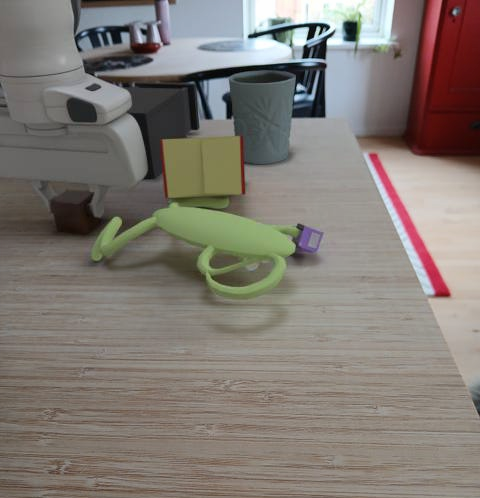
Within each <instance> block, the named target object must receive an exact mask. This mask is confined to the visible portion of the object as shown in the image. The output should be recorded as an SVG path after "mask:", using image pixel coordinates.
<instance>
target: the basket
mask: <svg viewBox="0 0 480 498" xmlns="http://www.w3.org/2000/svg"><path fill="white" fill-rule="evenodd" d="M133 85H134V86H133V87H132V88H166V89H182V94H183V104H184V114H185V125H186V135H187V136H188V134H189V133H191V131H199V129H200V118H199V117H200V116H199V115H200V114H199V103H198V92H197V91H198V90H197V83H196V82H164V81H163V82H162V81H136V82H134V83H133Z"/></svg>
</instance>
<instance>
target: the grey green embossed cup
mask: <svg viewBox="0 0 480 498" xmlns="http://www.w3.org/2000/svg"><path fill="white" fill-rule="evenodd" d="M296 79H297V77H296V74H295V73H291V72H288V71H282V70H281V71H280V70H265V69H264V70H250V71H243V72H238V73H234V74H231V75H230V76H229V77H228V85H229V92H230V94H229V95H230V101H231V103H232V104H231V110H232V111H231V112H232V120H233V128H234V129H233V132H234V136H243V145H244V163H246V164H252V165H269V164H270V165H271V164H277V163H279V162H282V161H284V160H286V159H287V158H288V156H289V152H290V137H291V129H292V119H293V117H292V116H293V103H294V97H295V87H296Z"/></svg>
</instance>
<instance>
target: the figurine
mask: <svg viewBox="0 0 480 498" xmlns="http://www.w3.org/2000/svg"><path fill="white" fill-rule="evenodd" d="M229 205H230V199H229V197H228V195H223V196H202V197H180V198H171V199H169V200H168V202H167V207H165V208H163V207H162V208H160V209H157V210H156V211H154V212H153V213H152V215H151V217H148V218H146V219H144V220H142V221H140V222H139V223H137V224H135V225H133V226H132V227H130V228H128V229H126V230H125V231H123V232H122V233H120V234H119V235H117V236H116V234H117V233H118V230H120V227H122V224H123V221H122V218H120V216H114V217H112V218H111V220H110V221H109V222H108V223H107V224H106V225H105V227H104V228H103V229H102V230H101V232H100V233H99V235H98V237H96V240H95V242H94V245H93V247H92V251H91V256H90V257H91V259H92V260H93V261H96V262H98V261H100V260H101V259H102V257H103V256H105V257H110V256H113V255H114V254H115V253H116V252H118V251H119V250H120V249H121V248H123V247H124V246H125V245H128V243H129V242H131V241H133V240H135V239H137V238H139V237H141V236H142V235H143V234H145V233H147V232H148V231H150V230H152V229H154V228H159V229H160V230H162V231H163V232H165V233H166V234H168V235H169V236H170V237H173V238H175V239H178V240H179V241H182V242H184V243H186V244H189V245H191V246H195V247H197V248H201V249H202V252H201V253H200V254H199V255H198V257H197V262H196V267H197V270H199V272H200V273H201V274H202V275H204V276H205V282H206V284H207V286H208V287H209V289H210V291H211V292H212V293H214V294H215V295H217V296H219V297H222V298H224V299H229V300H233V301H234V300H235V301H238V300H239V301H247V300H251V299H254V298H257V297H260V296H263V295H265V294H266V293H268V292H269V291H271V290H273V289H275V288H276V287H277V286H278V284H279V283H280V282H281V281H282V280H283V278H284V275H285V274H286V271H287V268H288V266H287V262H286V259H285V258H287V257H289V256H291V255H293V254H295V253H296V251H297V252H305V253H317V252H318V250H319V247H320V244H321V241H322V238H323V236H324V232H323V231H320V230H317V229H314V228H312V227H309V226H306V225H305V224H303V223H297V224H296V226H295V225H289V224H288V225H287V224H286V225H278V224H268V225H267V224H264V223H262V222H259V221H257V220H254V219H252V218H249V217H245V216H241V215H236V214H234V213H233V214H232V213H230V212H226V211H221V210H220V209H226V208H227V207H228V206H229ZM207 208H208V209H207ZM213 209H217V210H213ZM218 209H219V210H218ZM287 235H288V236H287ZM115 236H116V237H115ZM289 236H290V237H292V239H291V238H290V237H289ZM218 253H219V254H225V255H230V256H235V257H236V258H237V260H238V261H239V262H238V263H235V264H232V265H229V266H226V267H222V268H212V266H210V260H212V259H213V258H214V257H215V255H217V254H218ZM260 262H261V263H263V264H266V263H271V262H272V263H273V267H272V268H271V271H270V272H269V273H268V275H267V276H266V277H265V278H263V279H261V280H259V281H257V282H254V283H252V284H248V285H245V286H241V287H240V286H229V285H225V284H221V283H219V282H217V281H215V280H214V279H212V276H218V275H221V274H225V273H229V272H232V271H235V270H238V269H240V268H244V269H245V270H247V271H248V272H249V273H252V272H254V271H255V270H257V269H258V268H259V265H260Z"/></svg>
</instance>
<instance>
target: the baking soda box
mask: <svg viewBox="0 0 480 498" xmlns="http://www.w3.org/2000/svg"><path fill="white" fill-rule="evenodd" d="M160 147H161V158H162V170H163V172H162V178H163V179H162V181H163V190H164V199H177V198H182V197H202V196H242V195H243V196H245V195H246V176H245V175H246V174H245V162H244V145H243V136H235V135H233V136H232V135H231V136H230V135H229V136H209V137H206V136H205V137H187V138H183V139H161V140H160Z"/></svg>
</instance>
